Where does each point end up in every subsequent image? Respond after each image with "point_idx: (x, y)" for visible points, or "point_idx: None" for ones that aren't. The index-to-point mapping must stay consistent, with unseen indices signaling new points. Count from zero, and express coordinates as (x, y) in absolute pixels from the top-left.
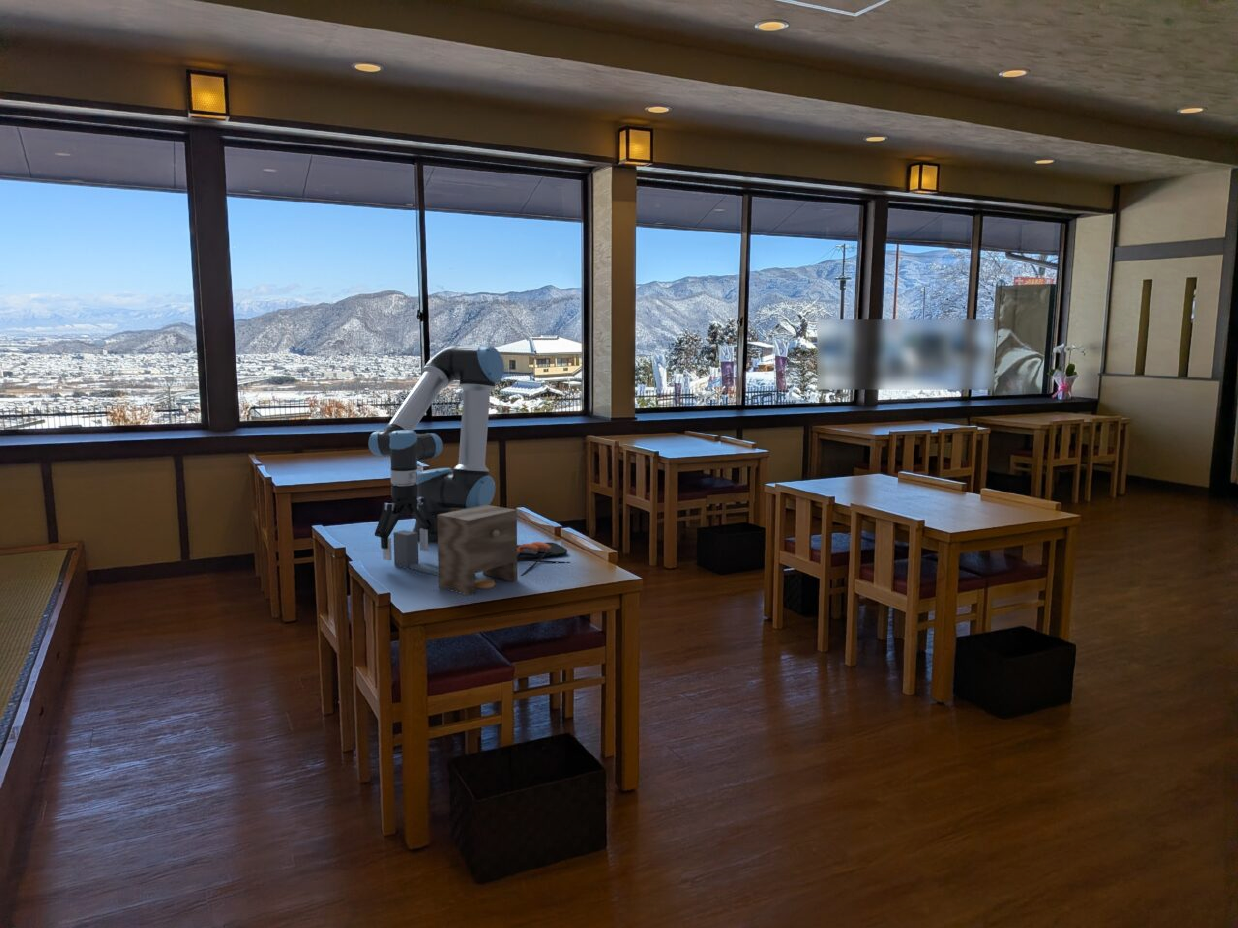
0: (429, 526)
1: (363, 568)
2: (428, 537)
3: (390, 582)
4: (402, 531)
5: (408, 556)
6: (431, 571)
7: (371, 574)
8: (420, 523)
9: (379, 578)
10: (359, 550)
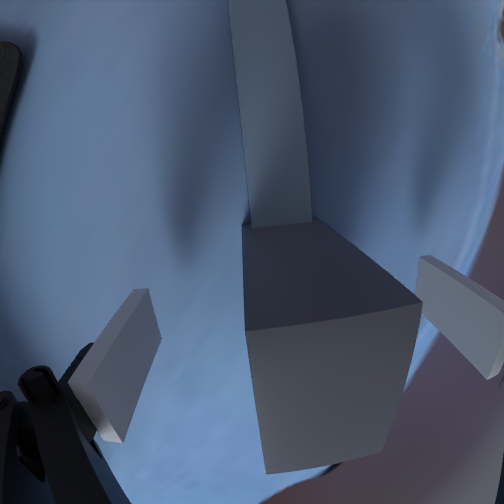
0: (36, 397)
1: (414, 349)
2: (87, 349)
3: (471, 104)
4: (315, 452)
5: (330, 234)
6: (292, 38)
7: (455, 256)
8: (107, 473)
9: (471, 183)
10: (266, 489)
